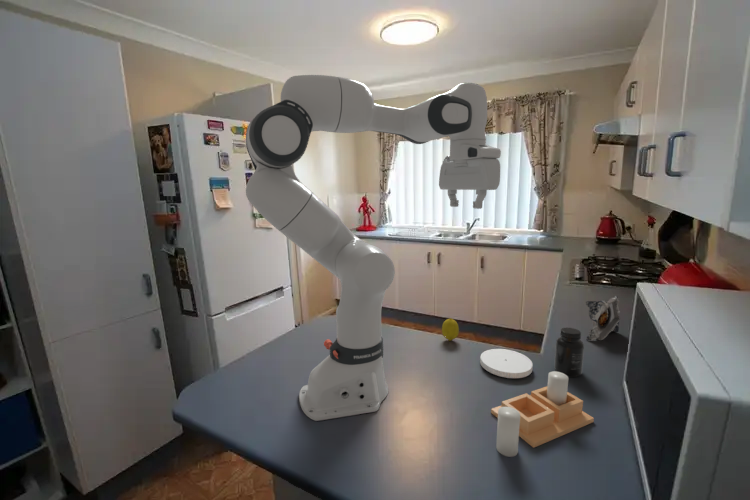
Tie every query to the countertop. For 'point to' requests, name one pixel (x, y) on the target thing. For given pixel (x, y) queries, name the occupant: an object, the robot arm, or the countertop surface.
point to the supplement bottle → (569, 352)
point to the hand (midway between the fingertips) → (465, 207)
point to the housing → (548, 411)
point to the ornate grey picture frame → (603, 318)
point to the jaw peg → (508, 431)
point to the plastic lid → (506, 363)
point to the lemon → (450, 329)
